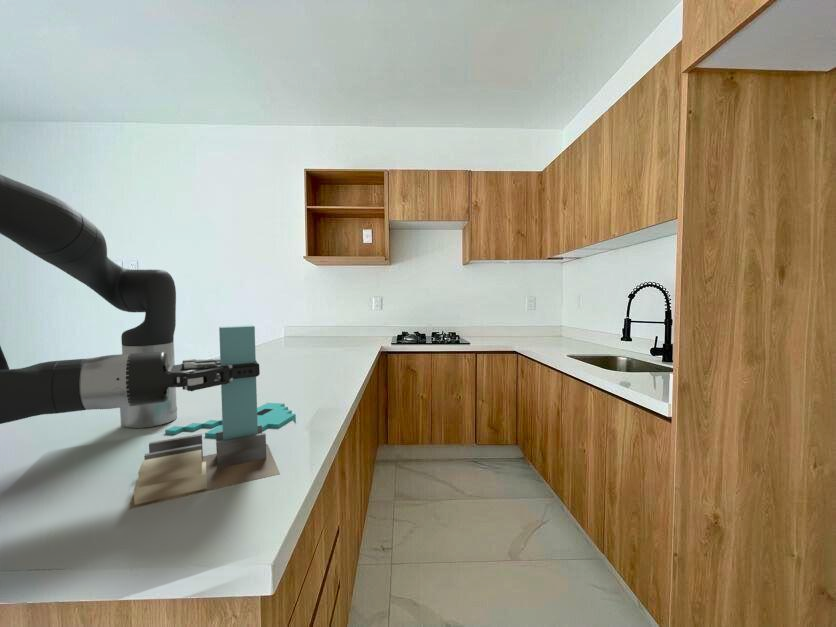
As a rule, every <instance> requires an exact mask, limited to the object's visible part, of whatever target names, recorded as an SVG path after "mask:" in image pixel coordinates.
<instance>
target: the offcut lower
mask: <svg viewBox="0 0 836 627" xmlns="http://www.w3.org/2000/svg"><path fill="white" fill-rule="evenodd" d="M206 488H207V473H206V462H202V474H201V475H196V476H191V477H187V478H182V479H177V480H172V481H168V482H163V483H158V484H154V485H149V486H144V487H139V477H137V480H136V483H135V486H134V488H133V495H134V502H135V505H136V504H140V503H145V502H149V501H153V500H158V499H162V498H167V497H171V496H175V495H180V494H184V493H188V492H193V491H197V490H201V489H206Z"/></svg>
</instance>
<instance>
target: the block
mask: <svg viewBox="0 0 836 627" xmlns="http://www.w3.org/2000/svg"><path fill="white" fill-rule="evenodd" d="M255 327H256V326H255V325H254V324H252V325H251V324H250V325H229V326H228V325H226V326H219V327H218V329H219V330H218V332H219V356H220V357H219V359H220V365H227V364H233V367H234V364H244V363H255V362H256V361H257V360H256V356H257V355H256V328H255ZM220 386H221V388H220V389H221V391H220V393H221V417H222V418H221V420H222V424H221V425H223V440H226V439H232V438H237V437H243V436H249V435H254V434H258V424H257V408H258V398H257V397H258V395H257V377H248V378H239V379H234V380H232V381H230V383H228V384H223V385H220Z"/></svg>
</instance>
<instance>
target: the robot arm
mask: <svg viewBox="0 0 836 627" xmlns="http://www.w3.org/2000/svg"><path fill="white" fill-rule="evenodd" d="M0 235H2V236H4V237H5V238H7V239H9V240H11V241H12V242H14V243H16V244H17V245H18V246H20V247H21V248H23V249H25V250H26V251H28V252H29V253H31V254H33V255H35V256H36V257H37V258H40V260H43V261H45V262H46V263H48V264H50V265H52V266H54V267H56V268H57V269H59V270H60V271H63V272H64V273H66V274H67V275H69V276H70V277H72V278H74V279H76V280H77V281H79V282H80V283H82V284H84V285H85V286H87V287H88V288H90V289H91V290H93V292H95V294H97V295H98V296H100V297H101V298H102V299H104V300H105V301H106V302H107V303H109V304H110V305H111V306H113V307H114V308H116V309H117V310H120V311H123V312H128V313H145V315H144V319H143V321H142V323H140V324H139V325H137V326H135V327H133V328H130V329H129V328H128V329H127V330H125V331H123V332H122V334H121V338H120V339H121V340H120V341H121V354H107V355H102V356H97V357H87V358H79V359H75V358H74V359H64V360H63V359H62V360H60V359H59V360H52V361H45V362H39V363H35V364H32V365H30V366H29V365H28V366H26V367H20V368H12V369H11V368H10V367H9V363H8V360H7V358H6V357H5V354H4V352H3V350H2V346H1V345H0V425H3V424H6V423H10V422H15V421H19V420H25V419H27V418H31V417H37V416H43V415H44V416H45V415H55V414H63V413H72V412H73V413H74V412H81V411H82V412H83V411H86V410H87V411H90V410H110V409H112V410H114V409H119V413H120V414H119V415H120V427H121V428H122V427H123V428H124V427H126V428H129V429H131V428H132V429H141V428H142V429H143V428H151V427H157V426H161V425H164V424H168V423H171V422H173V421H174V420H176V419H177V418H178V407H177V388H182V390H183V391H187V392H194V391H198V390H203V389H208V388H213V387H216V386H217V387H218V386H221V385H223V384H228V383H230V381H232V380H234V379H239V378H248V377H256V378H257V377H259V376H260V364H259V362H258V361H257V360H256V362H255V363H244V364H234V367H233V364H227V365H220V358H219V359H218V358H216V359H213V358H210V359H194V358H193V359H183V360H182V363H180V364H175V362H176V361H175V344H174V343H175V342H174V336H175V330H176V324H177V322H176V321H177V320H176V319H177V317H176V316H177V315H176V314H177V313H176V312H177V310H176V309H177V290H176V284H175V280H174V278H173V276H172V275H171V273H169V272H168V271H166V270H164V269H131V268H129V269H128V268H126V267H122V266H121V265H119V264H117V263H115V261H113V260H111V258H109V257H108V246H107V242H106V239H105V236H104V235H103V233H102V231H101V230H100V229H99V228H98V227H97V226H96V225H95V224H94V223H93V222H92V221H91V220H90V219H88V218H87V217H86V216H84V215H83V214H82V213H81V212H79V211H78V210H77V209H76V208H74V207H73V206H72V205H70V204H68V202H66V201H63V200H62V199H60V198H58V197H56V196H53V195H51V194H49V193H47V192H45V191H42V190H40V189H38V188H34V187H32V186H30V185H27V184H25V183H23V182H19V181H17V180H15V179H12V178H10V177H7V176H6V175H3V174H0Z"/></svg>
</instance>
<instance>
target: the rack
mask: <svg viewBox="0 0 836 627" xmlns="http://www.w3.org/2000/svg"><path fill="white" fill-rule="evenodd" d="M215 444H216V449H215V450H216V453H213V454H208V455H203V454H204V452H203V451H204V450H203V433H200V434H193V435H192V434H191V435H187V436H182V437H181V436H180V437H175V438H169V439H162V440H156V441H151V442H149V443H148V453H145V454H144V460H148V459H154V458H159V457H164V456H170V455H175V454H181V453H186V452H192V451H197V450H202V462H206V473H207V488H206V489H201V490H197V491H193V492H188V493H184V494H180V495H175V496H171V497H167V498H162V499H158V500H153V501H149V502H145V503H140V504H136V505H135V502H134V494H133V495H132V499H131V501H130V504H129V507H128V510H130V509H136V508H139V507H140V508H141V507H144V506H150V505H154V504H157V503H160V502H166V501H171V500H174V499H180V498H182V497H188V496H191V495H196V494H200V493H205V492H208V491H213V490H217V489H221V488H222V489H223V488H225V487H231V486H234V485H239V484H242V483H248V482H251V481H257V480H260V479H264V478H265V479H266V478H269V477H272V476H278V475H280V474H281V472H280V470H279V468H278V465H277V463H276V461H275V458H274V456H273V454H272V451H271V448H270V447H269V444H268V443H267V434H266V432H263V431H262V425H261V424H258V434H254V435H249V436H243V437H237V438H232V439H226V440H223V430H222V431H216V438H215Z"/></svg>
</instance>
